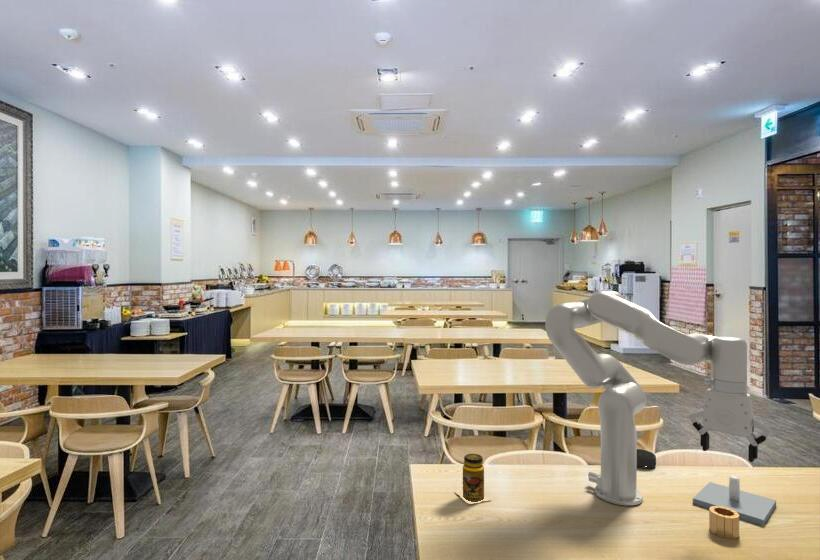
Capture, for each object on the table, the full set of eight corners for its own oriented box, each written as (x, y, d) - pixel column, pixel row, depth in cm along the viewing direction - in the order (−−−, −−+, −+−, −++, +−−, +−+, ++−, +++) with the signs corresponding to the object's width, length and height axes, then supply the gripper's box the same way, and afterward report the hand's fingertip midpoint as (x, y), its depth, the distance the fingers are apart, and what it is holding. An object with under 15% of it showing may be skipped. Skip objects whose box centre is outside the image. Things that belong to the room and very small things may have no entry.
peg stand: (692, 503, 129) (692, 476, 129) (709, 486, 140) (709, 462, 140) (763, 525, 117) (763, 496, 117) (776, 505, 128) (776, 478, 128)
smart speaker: (623, 465, 157) (623, 453, 157) (630, 457, 164) (631, 446, 164) (652, 472, 151) (652, 459, 151) (658, 464, 158) (658, 452, 158)
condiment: (468, 506, 127) (468, 462, 127) (454, 493, 135) (454, 452, 135) (491, 501, 130) (491, 458, 130) (475, 488, 138) (475, 448, 138)
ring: (706, 531, 114) (706, 511, 114) (713, 523, 118) (713, 503, 118) (735, 541, 110) (735, 520, 110) (741, 532, 114) (741, 512, 114)
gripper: (684, 383, 119) (684, 449, 119) (768, 395, 106) (768, 469, 106) (694, 379, 124) (693, 442, 124) (774, 390, 111) (774, 461, 111)
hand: (728, 455), depth 115 cm, fingers open, 9 cm apart
